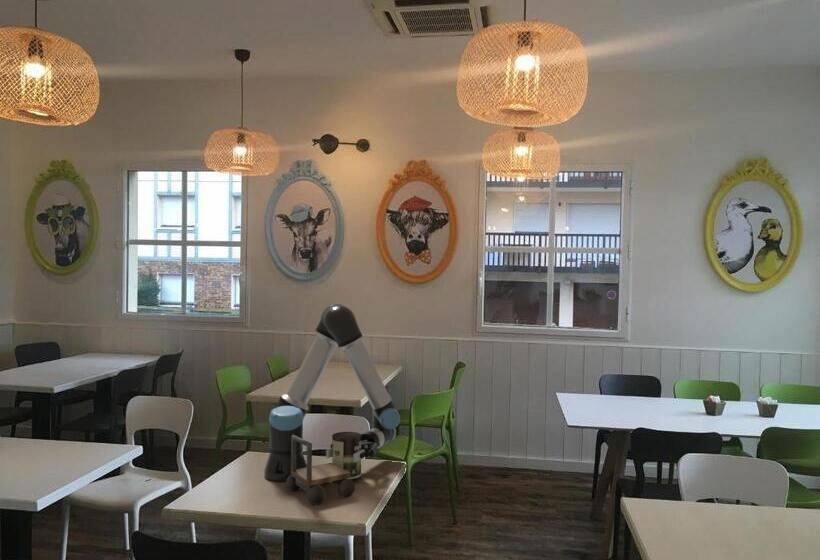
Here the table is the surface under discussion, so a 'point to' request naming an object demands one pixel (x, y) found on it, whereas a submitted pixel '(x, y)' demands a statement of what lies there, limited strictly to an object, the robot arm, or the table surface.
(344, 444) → the coffee can
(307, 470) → the trolley
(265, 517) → the table surface
